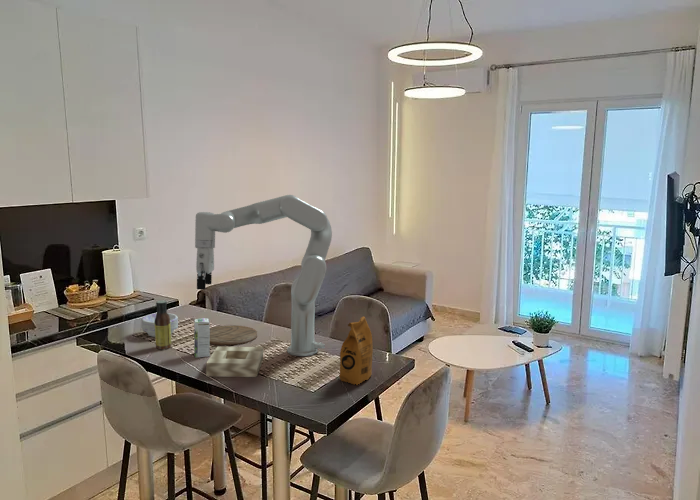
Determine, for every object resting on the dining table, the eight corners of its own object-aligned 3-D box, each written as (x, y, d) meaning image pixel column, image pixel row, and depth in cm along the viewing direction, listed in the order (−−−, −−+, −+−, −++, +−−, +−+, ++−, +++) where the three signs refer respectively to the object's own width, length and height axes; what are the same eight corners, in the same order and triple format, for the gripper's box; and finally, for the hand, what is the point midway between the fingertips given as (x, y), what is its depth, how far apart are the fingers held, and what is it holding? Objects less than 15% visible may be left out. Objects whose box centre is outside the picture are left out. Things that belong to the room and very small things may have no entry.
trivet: (268, 335, 239) (268, 331, 238) (232, 350, 217) (232, 346, 216) (226, 326, 250) (226, 322, 250) (187, 340, 228) (187, 336, 228)
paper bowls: (167, 340, 226) (167, 323, 224) (135, 338, 228) (135, 320, 227) (184, 330, 240) (184, 313, 239) (153, 328, 243) (153, 311, 242)
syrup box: (194, 353, 211) (193, 318, 209) (209, 352, 213) (208, 317, 211) (195, 358, 206) (194, 322, 204) (210, 356, 208) (209, 321, 206)
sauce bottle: (164, 344, 221) (163, 298, 218) (174, 347, 218) (173, 300, 215) (151, 348, 215) (150, 301, 212) (162, 351, 212) (160, 303, 209)
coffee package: (334, 380, 187) (336, 321, 184) (352, 370, 197) (354, 314, 194) (358, 387, 182) (360, 326, 179) (375, 376, 192) (377, 318, 189)
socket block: (263, 359, 206) (263, 347, 205) (256, 376, 188) (256, 363, 188) (217, 358, 206) (217, 346, 205) (206, 376, 188) (206, 363, 187)
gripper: (209, 247, 195) (208, 291, 197) (219, 241, 212) (218, 282, 215) (189, 246, 195) (188, 290, 197) (201, 240, 212) (200, 281, 214)
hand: (204, 286), depth 206 cm, fingers open, 9 cm apart
